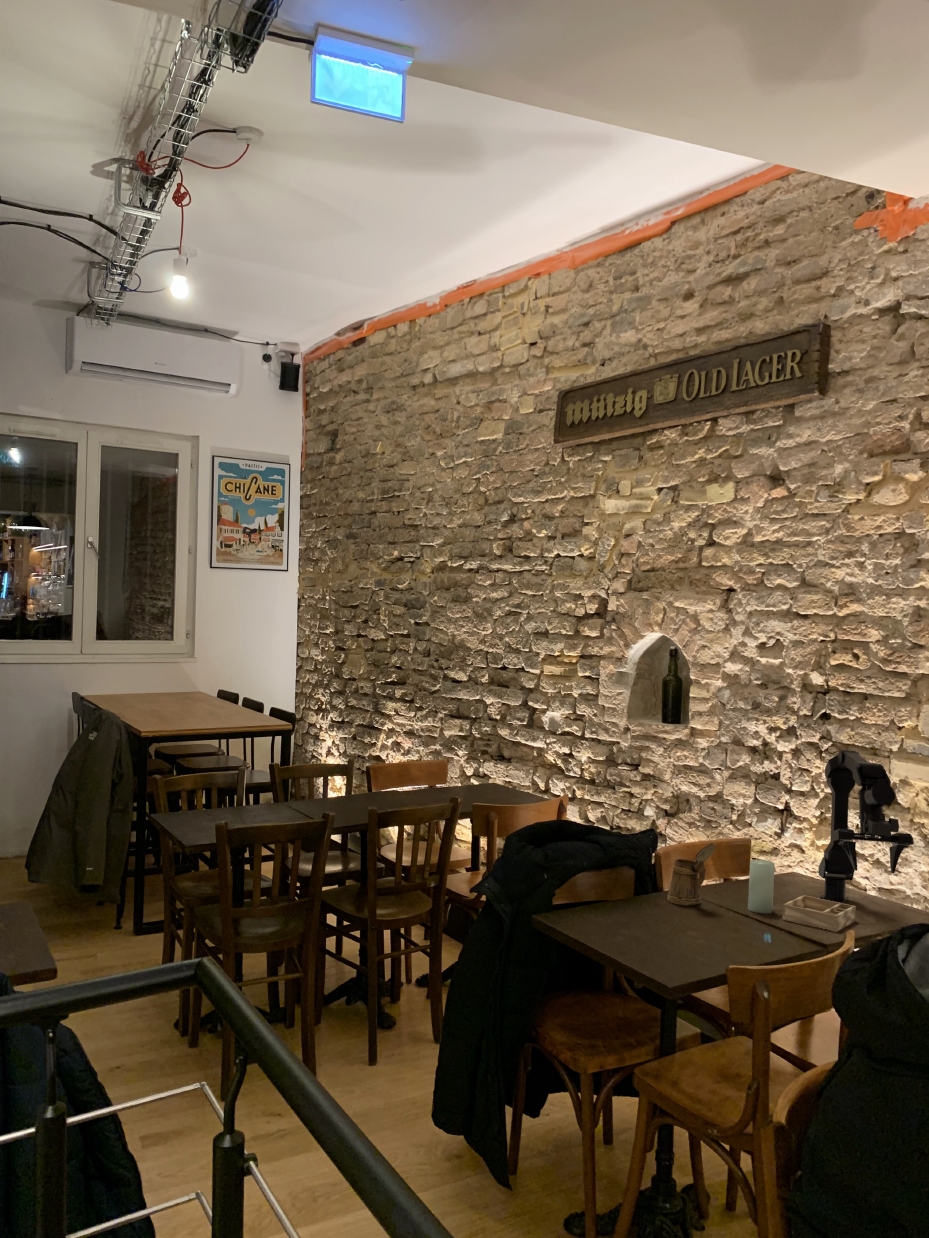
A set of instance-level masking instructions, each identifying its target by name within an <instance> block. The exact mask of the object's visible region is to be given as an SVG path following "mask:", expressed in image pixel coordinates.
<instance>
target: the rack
mask: <svg viewBox="0 0 929 1238" xmlns="http://www.w3.org/2000/svg"><path fill="white" fill-rule="evenodd" d="M856 909H857V906H856V905H853V904H852V905H851V904H847V903H844V902H843V903H840V902H835V901H831V900H826V899H821V898H820V897H814V896H810V895H805V894H804V895H801V896H799V897H796V898H794V899H792V900H790V901H788V902H787V901H786V902H785V903H783V904H782V920H783V921H788V922H790V923H796V924H800V925H804V926H809V927H813V928H817V927H818V929H821V928H822V930H825V929H827V930H826V931H829V930H830V932H834V933H837V932H839V931H840V930H842V929H844V928H846V927H847V926H849V925H851V924H853V923H855V922H856Z"/></svg>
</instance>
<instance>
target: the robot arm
mask: <svg viewBox="0 0 929 1238" xmlns="http://www.w3.org/2000/svg"><path fill="white" fill-rule="evenodd" d="M824 776H825V779H826V784H827V786H828V788H829V790H830V792H831V807H830V808H831V810H830V814H831V815H830V841H829V843H828V845H827V846H826V847H825V849H824V850H823V857H822V858H821V860H820V863H819V865H818V876H819V877H821V879H824V887H823V888H824V890H823V895H820V896H819V898H820V899H821V898H822V899H825V900H826V899H827V900H829V901H831V900H832V901H834V902H839V903H843V904H844V902H847V901H848V899H849V900H850V897H848V896H846V887H847V886H846V883H847V881H852V882H853V880H854V876H855V871H856V872H857V871H858V859H857V850H856V847H857V842H856V841H863V842H864V841H865V842H877V843H878V842H879V843H890V844H891V846H889V863H890V872H891V874H895V872H896V869H897V865H898V862H899V859H900V856H901V854H902V852H903V851H904V850H905V849H908V848H909V847H910V846H913V845H915V843H914V837H913V835H912V834H911V833H908V832H907V833H903V832H899V830H900V824H899V819H898V818H891V817H890V818H888V820H887V819H886V815H885V813H884V807H886V806H888V805H891V804H893V802H894V801H895V799H896V792H895V790H894V788H893V787H892V781H891V778H890V777H889V774H888V773H887V770H886V768H884V765H883V764H881V763H877V762H870V761H868V760H867V759H866V758H864V757H863V756H861V755H860V753H859V751H856V750H846V749H842V750H839V751H838V753H837V755H835V756H833V757H832V758H830V759H828V761H827V762H826V765H825V768H824ZM856 785H857V786H858V787H861V788H860V789H859V790H858V792H857V796H858V803H859V804H858V806H859V809H858V810H859V814H858V820H859V826H860V827H859V829H860V830H859V832H855V831H854V829H849V826H848V825H849V803H850V802H849V800H850V799H849V798H850V797H849V796H850V793H851V792H852V791H853V789H854V787H855V786H856ZM846 900H847V901H846Z"/></svg>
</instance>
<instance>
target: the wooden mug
mask: <svg viewBox="0 0 929 1238" xmlns="http://www.w3.org/2000/svg"><path fill="white" fill-rule="evenodd" d="M715 848H716V847H715V845H714V843H710V844H707V845H706V846H704V847H703V848H701V849H700V850H699V851H698V852H697V853H696V854H695V860H693V859H692V860H691V859H686V858H677V859H675V860H674V864H673V866H672V868H671V870H672V872H671V873H672V875H671V879H670V885H669V888H668V889H669V890H668V893H667V897H666V900H667V901H668V902H669V903H672V904H674V905H679V906H687V907H688V906H690V907H691V906H692V907H694V906H698V905H700V904H701V902H702V901H701V900H702V899H701V895H700V888H701V886H702V885H703V883H704V881H705V878H706V873H707V872H706V866H705V864H704V862H706V861H707V860H708V859H709V858H710V857H711V856H712V855H713V854H714V852H715Z"/></svg>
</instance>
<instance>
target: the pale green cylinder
mask: <svg viewBox="0 0 929 1238" xmlns="http://www.w3.org/2000/svg"><path fill="white" fill-rule="evenodd" d="M749 861H750V863H749V876H748V877H749V879H748V882H749V883H748V900H747V901H748V902H747V910H749V911H751V912H753V913H757V914H772V913H773V909H774V908H773V905H774V887H775V885H774V884H775V882H774V881H775V868H776V867H775V866H776V865H775V862H773V861H770V860H764V859H751V860H749Z"/></svg>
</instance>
